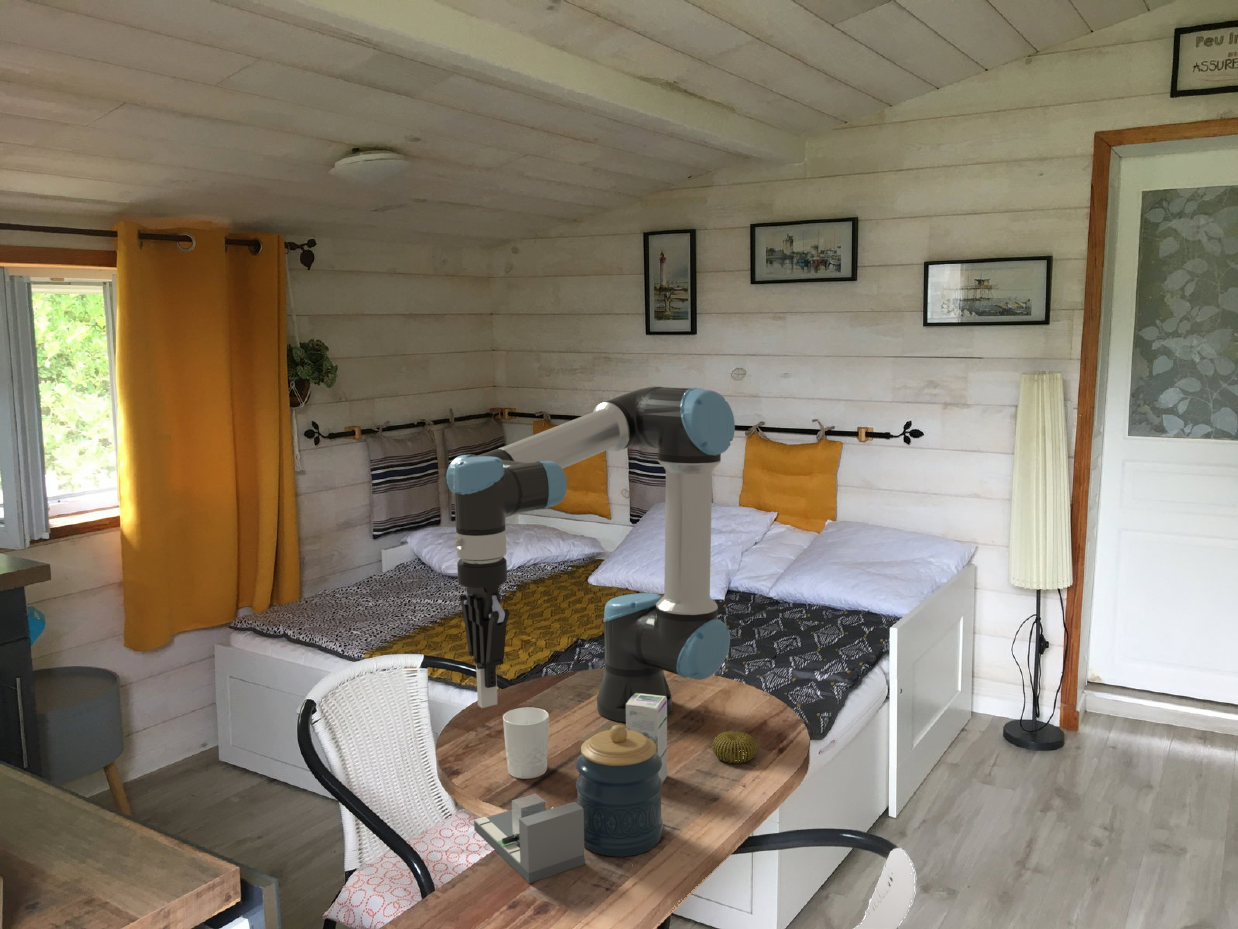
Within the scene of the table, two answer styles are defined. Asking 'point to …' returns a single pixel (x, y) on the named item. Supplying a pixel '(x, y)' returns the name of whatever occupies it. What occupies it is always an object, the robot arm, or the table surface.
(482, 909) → the table surface
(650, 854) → the table surface
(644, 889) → the table surface
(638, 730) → the syrup box
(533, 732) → the white cup
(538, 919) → the table surface
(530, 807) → the block
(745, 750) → the green sea urchin shell
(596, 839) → the canister
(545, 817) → the gauge base
